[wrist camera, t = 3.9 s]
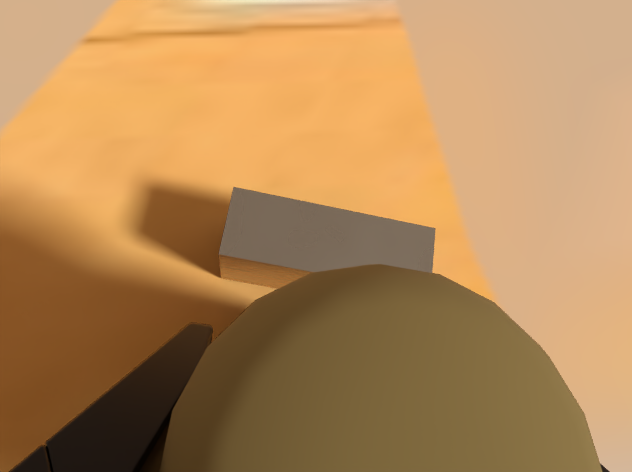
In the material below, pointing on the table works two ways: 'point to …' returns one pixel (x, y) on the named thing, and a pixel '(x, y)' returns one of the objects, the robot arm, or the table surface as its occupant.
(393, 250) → the bar
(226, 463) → the cork
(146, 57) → the table surface
